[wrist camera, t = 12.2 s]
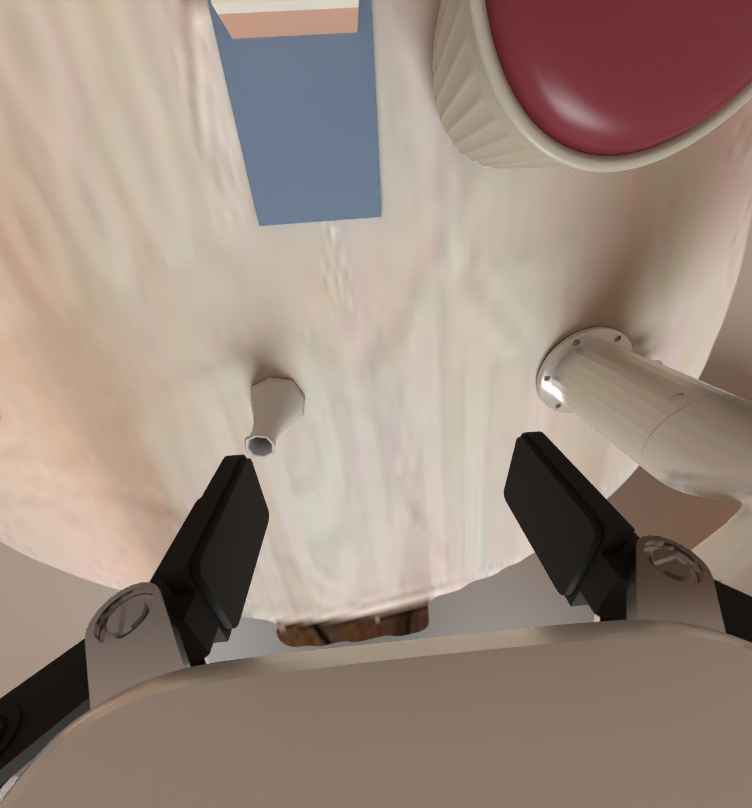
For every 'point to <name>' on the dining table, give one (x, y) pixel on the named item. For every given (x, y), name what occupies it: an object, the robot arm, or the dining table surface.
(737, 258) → the dining table surface
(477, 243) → the dining table surface
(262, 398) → the flask
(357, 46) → the multicoloured piece
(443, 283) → the dining table surface
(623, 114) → the canister
